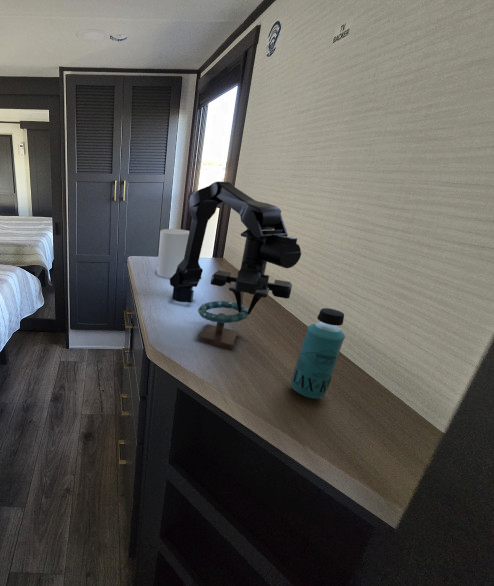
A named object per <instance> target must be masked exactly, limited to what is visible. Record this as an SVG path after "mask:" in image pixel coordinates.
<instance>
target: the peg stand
mask: <svg viewBox="0 0 494 586" xmlns="http://www.w3.org/2000/svg"><path fill="white" fill-rule="evenodd" d="M217 315H226V314H225V313H221V312H219V313H218V314H217ZM238 334H239V331H237V330H233V329H229V328H225V323H220V322H216V325H212V324H210V323H207V324H206V325H205V326H204V328H203V329H202V331H201V332H200V334H199V335H198V339H197V341H199V342H202V343H205V344H210V345H214V346H217V347H220V348H224V349H228V350H232V349H233V347H234V344H235V342H236V340H237V338H238Z"/></svg>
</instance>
